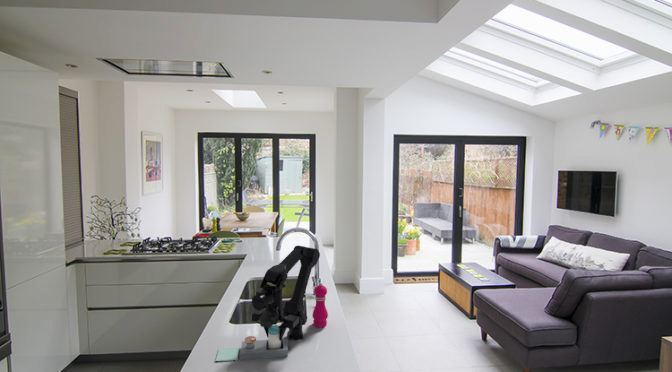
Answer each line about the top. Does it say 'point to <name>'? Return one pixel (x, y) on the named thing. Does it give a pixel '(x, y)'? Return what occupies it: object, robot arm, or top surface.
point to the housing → (263, 350)
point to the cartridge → (274, 338)
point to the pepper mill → (320, 306)
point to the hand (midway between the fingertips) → (274, 339)
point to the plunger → (250, 342)
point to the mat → (227, 354)
